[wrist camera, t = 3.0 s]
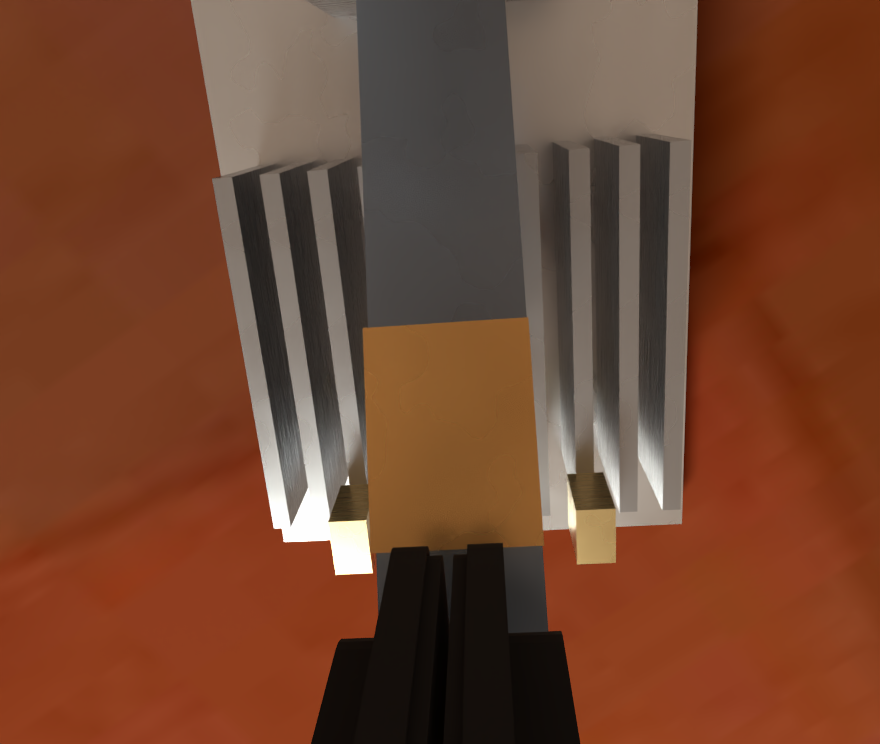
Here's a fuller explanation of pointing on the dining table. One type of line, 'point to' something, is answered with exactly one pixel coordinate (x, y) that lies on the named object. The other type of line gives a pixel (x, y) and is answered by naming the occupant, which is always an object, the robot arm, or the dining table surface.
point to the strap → (447, 296)
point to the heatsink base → (543, 249)
